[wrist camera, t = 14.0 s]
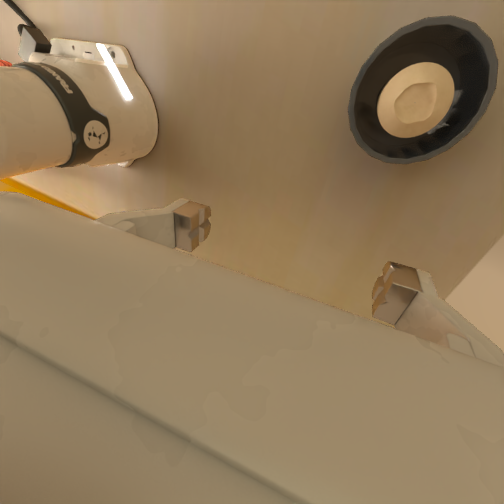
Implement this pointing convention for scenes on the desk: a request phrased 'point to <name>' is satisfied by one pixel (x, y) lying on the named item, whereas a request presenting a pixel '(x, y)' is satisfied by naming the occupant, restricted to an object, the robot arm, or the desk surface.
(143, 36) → the desk surface
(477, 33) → the pen holder
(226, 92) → the desk surface
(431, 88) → the candle
